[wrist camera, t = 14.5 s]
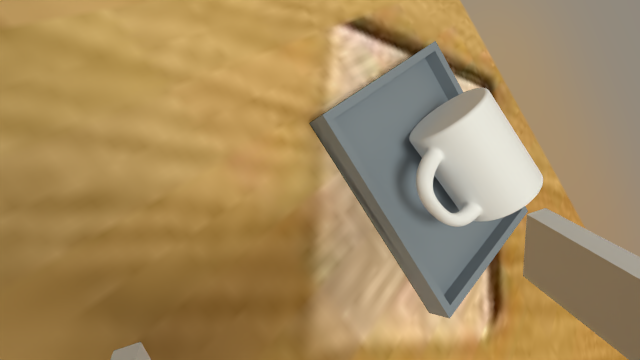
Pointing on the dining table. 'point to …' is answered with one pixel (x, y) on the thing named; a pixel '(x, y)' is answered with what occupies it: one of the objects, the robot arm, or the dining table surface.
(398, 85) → the tray
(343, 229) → the dining table surface
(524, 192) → the mug
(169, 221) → the dining table surface
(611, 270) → the robot arm
